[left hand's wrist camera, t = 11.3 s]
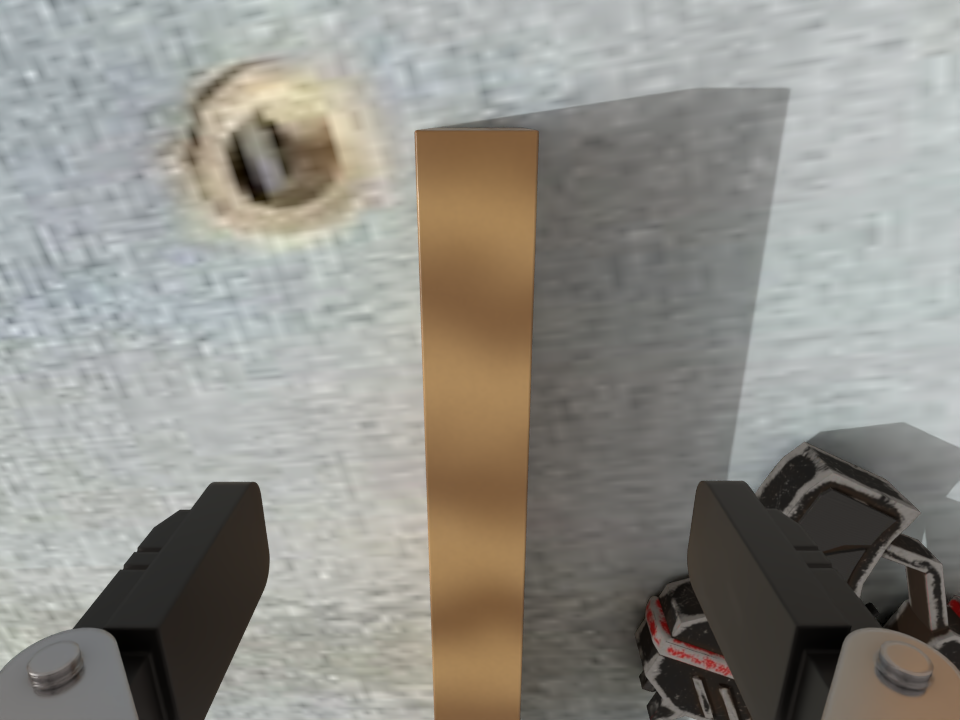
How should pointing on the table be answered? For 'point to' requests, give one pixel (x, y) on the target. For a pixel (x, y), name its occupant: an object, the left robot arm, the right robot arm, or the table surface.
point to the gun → (852, 551)
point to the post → (477, 405)
